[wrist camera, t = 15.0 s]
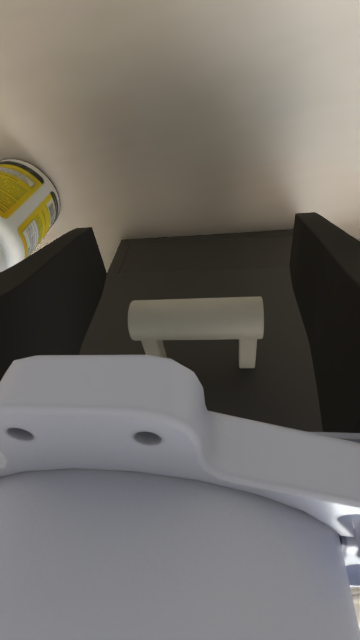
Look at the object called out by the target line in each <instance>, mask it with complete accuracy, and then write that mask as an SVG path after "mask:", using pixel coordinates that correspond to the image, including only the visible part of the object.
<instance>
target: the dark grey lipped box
mask: <svg viewBox="0 0 360 640" xmlns="http://www.w3.org/2000/svg"><path fill="white" fill-rule="evenodd" d="M293 231H294V230H282V231H265V232H248V233H232V234H215V235H198V236H182V237H165V238H148V239H132V240H122V241H121V243H120V246H119V247H118V249H117V252H116V254H115V256H114V259H113V261H112V263H111V266H110V268H109V270H108V273H107V275H112V274H135V273H158V272H180V271H203V270H226V269H249V268H271V267H289V263H290V255H291V247H292V239H293Z"/></svg>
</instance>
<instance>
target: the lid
mask: <svg viewBox="0 0 360 640" xmlns="http://www.w3.org/2000/svg"><path fill="white" fill-rule="evenodd" d="M79 355H151V356H158V357H164V358H170V359H172V360H174V361H176V362H178V363H179V364H181V365H183V366H185V367H186V368H188V369H190V370H191V371H193V372H194V373H195V375H196V376H197V378H198V380H199V381H200V383H201V385H202V387H203V390H204V399H205V405H206V408H207V410H208V411H212V412H216V413H221V414H226V415H231V416H235V417H240V418H245V419H249V420H254V421H259V422H264V423H268V424H273V425H278V426H282V427H287V428H292V429H297V430H301V431H306V432H323V429H322V421H321V414H320V406H319V399H318V392H317V386H316V379H315V373H314V367H313V361H312V356H311V350H310V345H309V341H308V337H307V334H306V330H305V327H304V324H303V321H302V318H301V314H300V311H299V308H298V305H297V301H296V298H295V295H294V291H293V288H292V281H291V274H290V267H271V268H249V269H226V270H203V271H180V272H158V273H135V274H112V275H106V280H105V285H104V289H103V293H102V296H101V299H100V301H99V304H98V306H97V309H96V311H95V314H94V316H93V319H92V321H91V323H90V326H89V328H88V331H87V333H86V335H85V338H84V341H83V343H82V346H81V349H80V353H79Z"/></svg>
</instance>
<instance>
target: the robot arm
mask: <svg viewBox="0 0 360 640" xmlns="http://www.w3.org/2000/svg"><path fill="white" fill-rule="evenodd" d="M289 267H290V274H291V281H292V288H293V291H294V295H295V298H296V301H297V305H298V308H299V311H300V314H301V318H302V321H303V324H304V327H305V330H306V334H307V337H308V341H309V345H310V350H311V356H312V361H313V367H314V373H315V379H316V386H317V392H318V399H319V406H320V414H321V421H322V429H323V432H306V431H301V430H297V429H292V428H287V427H282V426H278V425H273V424H268V423H264V422H259V421H254V420H249V419H245V418H240V417H235V416H231V415H226V414H221V413H216V412H212V411H208V410H207V408H206V405H205V399H204V390H203V387H202V385H201V383H200V381H199V380H198V378H197V376H196V375H195V373H194V372H193V371H191V370H190V369H188V368H186V367H185V366H183V365H181V364H179V363H178V362H176V361H174V360H172V359H170V358H164V357H158V356H151V355H79V353H80V349H81V346H82V343H83V341H84V338H85V335H86V333H87V331H88V328H89V326H90V323H91V321H92V319H93V316H94V314H95V311H96V309H97V306H98V304H99V301H100V299H101V296H102V293H103V289H104V285H105V280H106V275H107V272H106V269H105V266H104V263H103V260H102V257H101V254H100V251H99V248H98V245H97V242H96V239H95V236H94V232H93V229H92V227H89V228H76V229H74V230H71V231H69V232H68V233H66V234H64V235H62V236H61V237H59V238H57V239H56V240H54V241H53V242H51V243H50V244H48V245H46V246H45V247H43V248H42V249H40V250H39V251H37V252H35V253H34V254H32V255H30V256H29V257H27V258H25V259H24V260H22V261H20V262H19V263H17V264H15V265H13V266H12V267H10V268H8V269H6V270H4V271H2V272H0V640H360V630H359V625H358V621H357V616H356V612H355V607H354V602H353V598H352V593H351V589H350V587H360V241H359V240H357V239H355V238H354V237H352V236H350V235H349V234H347V233H346V232H344V231H343V230H341V229H340V228H338V227H337V226H335V225H334V224H332V223H331V222H329V221H328V220H327V219H325V218H324V217H322V216H320V215H319V214H317V213H315V212H313V213H298V214H296V215H295V223H294V231H293V239H292V247H291V255H290V263H289Z"/></svg>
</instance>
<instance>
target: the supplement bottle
mask: <svg viewBox="0 0 360 640" xmlns="http://www.w3.org/2000/svg"><path fill="white" fill-rule="evenodd" d="M59 211H60V202H59V197H58V194H57V192H56V190H55V188H54V186H53V184H52V183H51V182H50V180H49V179H48V178H47V177H46V176H45V175H44V174H43V173H42V172H41V171H40V170H38V169H37V168H36V167H34V166H33V165H31V164H29V163H27V162H24V161H20V160H15V159H7V160H2V161H0V272H2V271H4V270H6V269H8V268H10V267H12V266H13V265H15V264H17V263H19V262H20V261H22V260H24V259H25V258H27V257H29V256H30V254H31V253H32V252H33V250H34V249H35V248H36V246H37V245H38V244H39V243H40V241H41V240H42V238H43V237H44V236H45V234H46V233H47V232H48V230H49V229H50V228H51V226H52V225H53V224H54V222H55V221H56V219H57V217H58V215H59Z"/></svg>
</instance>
